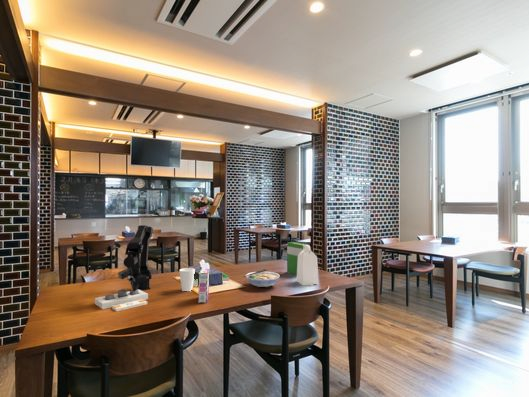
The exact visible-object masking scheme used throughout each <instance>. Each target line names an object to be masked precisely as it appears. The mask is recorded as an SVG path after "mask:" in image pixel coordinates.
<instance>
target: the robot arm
mask: <svg viewBox="0 0 529 397" xmlns="http://www.w3.org/2000/svg"><path fill="white" fill-rule="evenodd" d="M153 233H154V229H153V227H152V226H148V225H144V224H141V225H138V226H137V230H136V233H135V234H134V236H133V238H131V239H130V240H129V241H128V243H127V245H126V249H125V253H124V255H125V256H126V257H125V258H124V260H123V261H122V262H123V265H124V266H125V269H122V270H120V271H118V272H117V275H118V277H119V279H121V280H124V279H126V280H127V281H128V282H129V283H130V286H131V289H132V290H133V291H136V290H141V291H144V290H145V291H146V290H149V289H151V287H150V280H151V279H152V278H153V277H152V271H151V267H150V265H149V263H148V258H149V247H150V246H149V244H150V240H151V239H152V236H153ZM132 290H131V291H132Z"/></svg>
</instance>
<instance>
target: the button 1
mask: <svg viewBox="0 0 529 397" xmlns="http://www.w3.org/2000/svg"><path fill="white" fill-rule="evenodd" d="M104 296H105V300H111V299H114V295H113V294H108V295H104Z"/></svg>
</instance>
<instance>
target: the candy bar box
mask: <svg viewBox="0 0 529 397" xmlns="http://www.w3.org/2000/svg"><path fill="white" fill-rule="evenodd" d="M209 270H210V268H208V269H207V268H201V269H200V270H199V271H200V272H199V287H198V294H197V295H198V299H197V302H198V304H206V303H208V300H209V296H210V292H209V291H210V285H209Z"/></svg>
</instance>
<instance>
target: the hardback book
mask: <svg viewBox="0 0 529 397" xmlns="http://www.w3.org/2000/svg"><path fill="white" fill-rule="evenodd" d="M286 244H287V245H286V246H287V247H286V249H287V250H286V273H287V272H289V273H288V274H290V273H292V274H291V275H294V274H295V276H297V262H298V255H299V253H300V252H301V251H302V250H303V249H304V248H305V245H309V246H310V244H309V243H303V242H298V241H290V242H288V241H287V243H286Z"/></svg>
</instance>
